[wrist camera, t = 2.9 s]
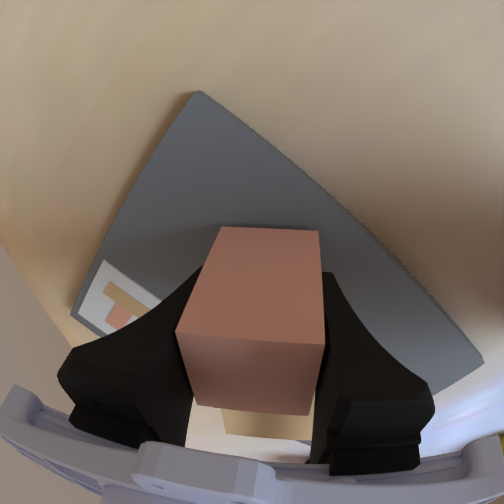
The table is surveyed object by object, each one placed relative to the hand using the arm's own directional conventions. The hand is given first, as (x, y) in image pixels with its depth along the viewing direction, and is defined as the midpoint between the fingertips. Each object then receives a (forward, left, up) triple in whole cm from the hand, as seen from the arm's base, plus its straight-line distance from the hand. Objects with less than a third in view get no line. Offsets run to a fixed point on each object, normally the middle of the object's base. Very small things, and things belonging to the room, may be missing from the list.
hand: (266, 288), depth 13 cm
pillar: (0, 0, -1) cm, 1 cm away
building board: (-5, +5, -3) cm, 7 cm away
